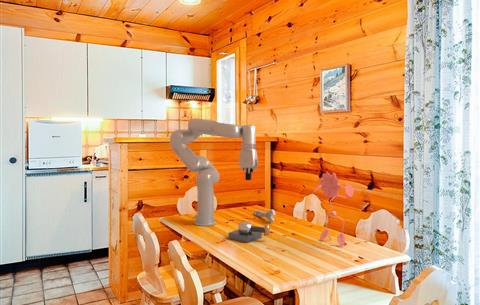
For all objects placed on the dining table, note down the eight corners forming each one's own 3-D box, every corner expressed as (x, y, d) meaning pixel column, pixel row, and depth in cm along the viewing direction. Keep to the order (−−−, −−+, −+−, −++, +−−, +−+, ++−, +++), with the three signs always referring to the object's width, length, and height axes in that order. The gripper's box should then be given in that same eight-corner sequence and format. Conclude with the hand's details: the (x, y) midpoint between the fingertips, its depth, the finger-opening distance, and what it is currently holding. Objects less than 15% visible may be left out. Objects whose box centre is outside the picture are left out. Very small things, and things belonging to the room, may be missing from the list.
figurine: (319, 235, 187) (320, 168, 185) (360, 249, 166) (361, 173, 164) (297, 240, 179) (297, 170, 177) (337, 255, 158) (338, 176, 155)
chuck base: (228, 238, 181) (228, 232, 180) (243, 233, 190) (243, 228, 190) (247, 243, 173) (247, 236, 173) (261, 237, 183) (261, 231, 183)
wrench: (256, 218, 238) (276, 223, 210) (254, 218, 237) (273, 224, 209) (256, 206, 239) (275, 210, 210) (253, 206, 238) (272, 210, 210)
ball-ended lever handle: (236, 232, 180) (236, 223, 179) (241, 229, 186) (241, 220, 186) (266, 236, 173) (267, 227, 173) (271, 233, 179) (271, 224, 179)
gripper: (234, 147, 201) (233, 179, 202) (255, 147, 192) (255, 181, 193) (242, 146, 207) (241, 178, 208) (263, 147, 198) (263, 180, 199)
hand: (248, 180), depth 201 cm, fingers closed
